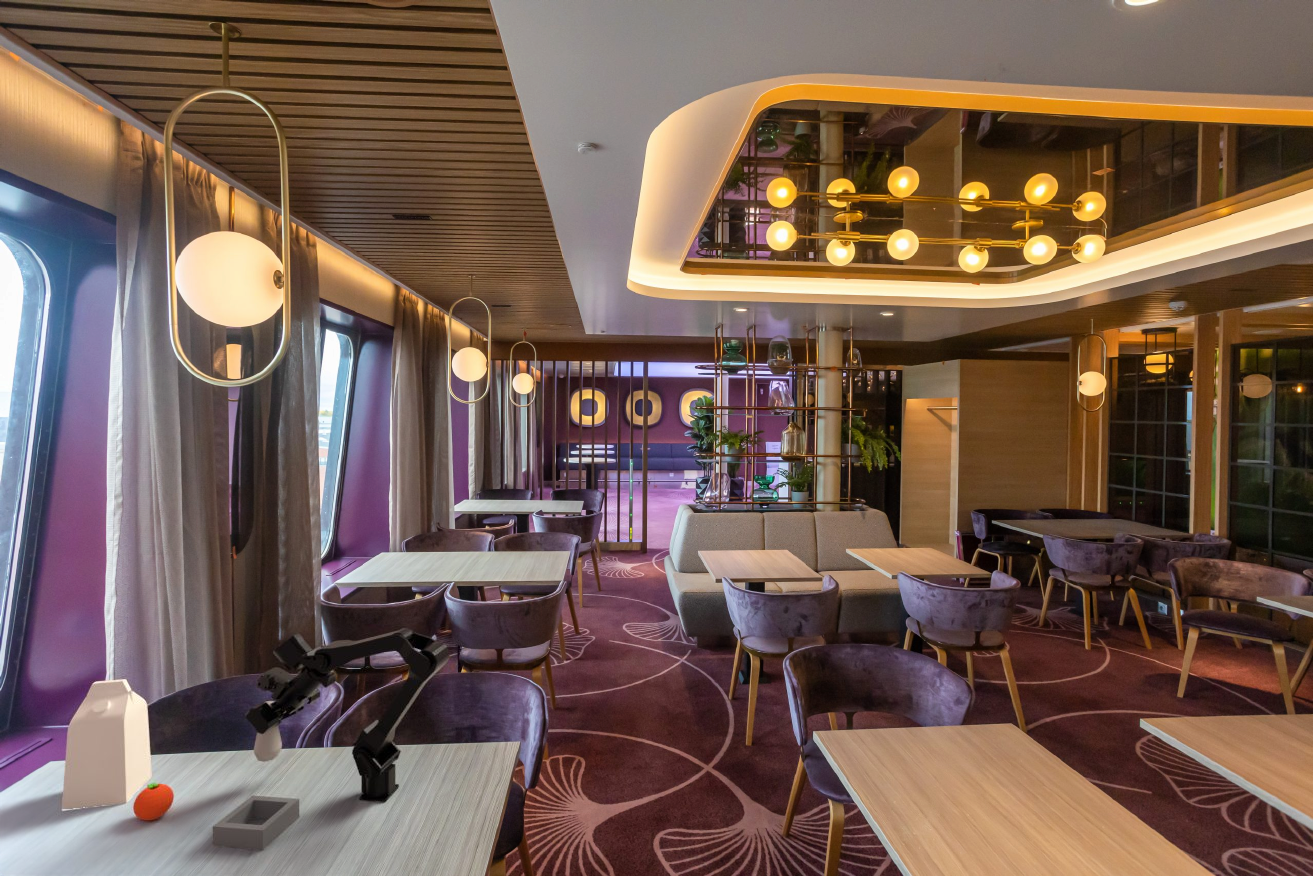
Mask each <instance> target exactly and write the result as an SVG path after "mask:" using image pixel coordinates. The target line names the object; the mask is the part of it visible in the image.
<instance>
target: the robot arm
mask: <svg viewBox="0 0 1313 876" xmlns="http://www.w3.org/2000/svg"><path fill="white" fill-rule="evenodd" d="M418 650H420V651H418ZM392 651H395V652H397V653H398V654H399V656H400V657H401V658H402V660H403V662H404V663H406V664H407V665H409V668H408V673H407V675H408V676H407V678H406V679H405V681H404V683H402V686H401V687H400V689H399V691H398V692H397V693H396V695H395V696H394V698H393V699H392V700H391V702H390V704H389V705H388V706H387V707H386V709H385V711H384V713H383V714H382V716H381V717H380V718H379V720H378V719H377V718H376V719H375V720H374V721H372V722H371V723H369V725H368V726H366V727H365V728H363V729H362V730H361V732H360V733H359V735H358V738H357V739H356V740H355V741H354V742H353V743H352V746H354V747H353V748H352V751H351V755H352V758H353V761H354V763H355V766H356V768H357V772H358V774H359V776H360V777H361V783H360V785H361V787H360V788H361V789H360V792H361V795H359V797H358V800H359V801H365V802H366V801H367V802H383V803H384V802H387V801H388V799H389V798H390V797H391V796H392V795H393V794H394V793H395V792H396V791H397V790H398V789H399V787H400V785H399V784H398V783H396V763H395V762H396V761H397V760H399V758H400V755H401V752H402V751H401V749H400V748H399V747H398V746H397V745H396V743H395V742H394V741H393V740H394V738H395V735H396V734H395V733H396V728H397V727H398V725H399V724H400V723H401V721H402V720H403V718H404V716H405V715H406V714H407V712H408V711H409V709H410V707H411V706H412V705H413V703H414V701H415V700H416V699H417V697H418V696H419V695H420V692H421V691H422V690H423V688H424V687H425V685H426V684H427V683H428V681H429V680H430V679H431V678H432V677H434V676H435V675H436V674H437V673H438V672H439V671H440V670H441V669H442V667H444V666H445V665H446V664H447V663H448V661H449V659H450V656H451V654H450V650H449V649H448V646H447V645H446V644H444V643H443V642H441V641H437V640H435V639H434V638H433V637H430V636H427V635H425V634H421V633H418V632H415V631H414V630H412V629H411V628H409V627H408V628H407V627H404V628H403V627H402V628H401V629H399V630H396V631H395V630H394V631H391V632H388V633H387V632H386V633H384V634H380V635H376V636H372V637H368V638H363V639H359V640H350V639H345V640H344V639H342V640H340V639H339V640H335V641H332V642H330V643H328V644H326V645H319V646H317V647H316V648H313V649H312V647H311V646H310V645H309V644H308V643H307V642H306V640H304V638H303V635H301V634H300V633H299V632H298V633H296V634H293V635H292V636H291V637H290V638H288V639H287V640H285V641H284V642H282V643H281V644H279V645H277V646H276V648H275V649H273V652H272V654H273V655H275V656H276V657H275V658H277V659H278V660H279V661H280V663H282V665H283V666H284V667H285V668H286V669H287V670H288V671H286V670H285V669H282V668H280V667H273V668H270V669H269V670H266V671H265V672H263V674H262V675H261V676H260V677H259V678H258V679H257V680H256V681H257V684H256V687H257V688H258V689H260V690H261V691H263V692H267V691H268V692H270V693H272V694H271V695H270V698H272V701H273V700H274V701H275V702H273V703H271V704H270V706H269V704H268V703H267V701H261V702H259V703H258V704H256V705H254V706H252V707H250V708H249V709H248V710H247V711H246V713H244V717H245V718H246V720H247V721H248V723H250V724H251V725H252V727H254V731H255V732H256V734H257V733H259V734H264V733H266V732H267V731H269V730H270V729H272V728H274V727H276V726H277V725H278V726H279V725H280V724H282V723H283V722H282V721H284V720H286V719H288V718H290V717H292V716H294V715H296V714H298V713H300V712H301V711H302V710H305V707H304V705H305V704H307V706H310V705H312V704H314V703H315V702H317V701H318V700H319V698H320V697H321V691H320V690H319V688H320V686H321V685H322V686H323V687H324V688H328V687H329V686H332V685H333V684H335V683H336V682H337V679H336V675H335V674H336V673H335V671H334V670H337V669H338V668H340V667H342V666H344V665H346V664H348V663H351V662H352V661H356V660H360V659H363V658H368V657H371V656H375V655H380V654H384V653H388V652H392ZM292 670H294V671H299V670H300V671H299V672H298V673H296V675H295V676H293V675H292V674H291V673H289V672H291V671H292ZM307 700H308V702H307V703H306V701H307Z"/></svg>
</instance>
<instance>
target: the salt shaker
mask: <svg viewBox="0 0 1313 876" xmlns="http://www.w3.org/2000/svg"><path fill="white" fill-rule="evenodd" d="M275 701H276V700H274V701H273V700H269V701H266V702H267V703H268V704H269V706H270V704H271V703H273V702H275ZM280 733H281V732H280V728H279V725H277V726H276V727H274V728H272V729H270V730H269V731H267V732H266V733H264V734H259V733H257V732H256V737H255V742H254V747H253V753H254V756H255V758H256V759H257V761H258V762H263V763H265V762H270V761H272V760H274V759H276V758H277V757H278V756H279V754H280V752H281V750H282V748H283V742H282V738H281V734H280Z"/></svg>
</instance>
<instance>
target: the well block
mask: <svg viewBox="0 0 1313 876" xmlns="http://www.w3.org/2000/svg"><path fill="white" fill-rule="evenodd" d="M299 818H300V798H293V797H292V798H291V797H278V796H264V795H251V796H250V797H248V798H247V799H246V800H245V801H244V802H242V803H241V804H240V805H238V806H237V807H236V808H235V809H233V810H232V811H231V812H229V813H228V814H227V815H225V816H224V817H223V818H222V819H220V820H219V821H218V822H217V823H215V824H213V826H212V847H219V848H221V847H222V848H232V849H233V848H234V849H246V850H256V851H259V850H260V851H264V850H265V849H266V848H268V846H270V844H272V843H273V842H274V841H275V840H276V839H277V838H278V837H279V836H280V835H281V834H282V833H284V832H285V831H286V830H287V829H288V828H289V827H290V826H291V825H292V824H293V823H295V821H297V820H298V819H299ZM253 819H259V820H260V819H261V820H265V822H264V823H262V825H261V824H253V823H252V824H250V822H251V821H252V820H253Z"/></svg>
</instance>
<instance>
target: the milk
mask: <svg viewBox="0 0 1313 876" xmlns="http://www.w3.org/2000/svg"><path fill="white" fill-rule="evenodd" d="M149 726H150V725H149V711H148V703H147V701H146V700H145V699H144V698H143V697H142V696H141V695H139V694H137V692H135V691H134V690H132V687H131V686H130V685H129V683H128V681H127V679H126V678H124V679H111V680H99V681H95V682H93V683H92V684H91V686H90V688H89V689H88V692H87V694H86V696H85V698H84V699H83V700H82V702H81V704H80V705H79V707H78V709H77V711H76V712H75V713H74V715H73V717H72V718H71V720H70V722H69V725H68V726H67V732H66V733H67V734H66V735H67V736H66V748H65V760H64V761H65V763H64V775H63V776H64V777H63V788H62V789H63V790H62V799H61V800H62V801H61V810H62V809H73V808H83V807H85V809H87V808H86V807H93V808H95V807H94V806H101V807H103V806H102V805H109V806H115V805H116V806H117V805H123V804H127V803H129V801H130V800H131V799H132V798H133V797H134V796H135V795H136V794H137V793H138V792H139V790H140V789H142V787H143V786H144V785H145V784H146V783H147V782H148V781H149V780H150V779H151V778H152V774H153V773H152V760H151V746H150V742H151V741H150V728H149ZM137 791H138V792H137ZM136 792H137V793H136ZM135 793H136V794H135ZM134 794H135V795H134ZM133 795H134V796H133Z"/></svg>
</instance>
